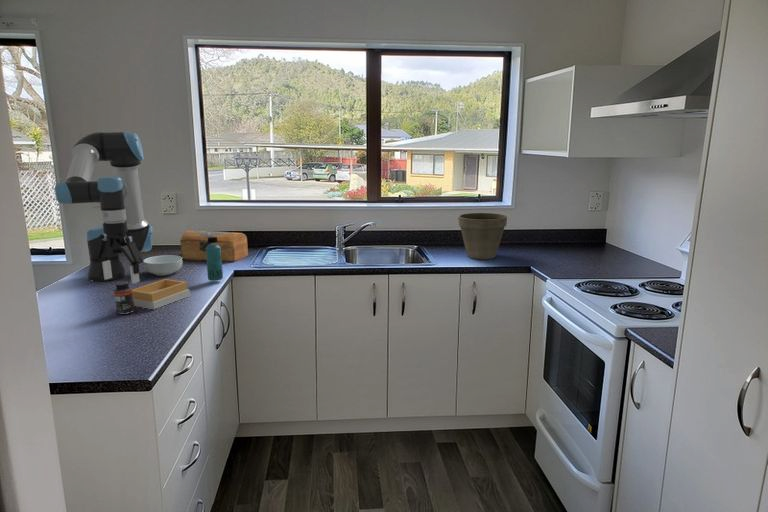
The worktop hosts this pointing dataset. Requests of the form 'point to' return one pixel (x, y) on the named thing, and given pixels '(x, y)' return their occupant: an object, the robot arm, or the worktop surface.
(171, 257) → the cereal bowl
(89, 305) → the worktop surface
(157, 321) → the worktop surface
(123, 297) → the supplement bottle
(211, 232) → the wooden box
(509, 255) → the worktop surface
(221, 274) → the beverage bottle
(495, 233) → the plant pot
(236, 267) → the worktop surface
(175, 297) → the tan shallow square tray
